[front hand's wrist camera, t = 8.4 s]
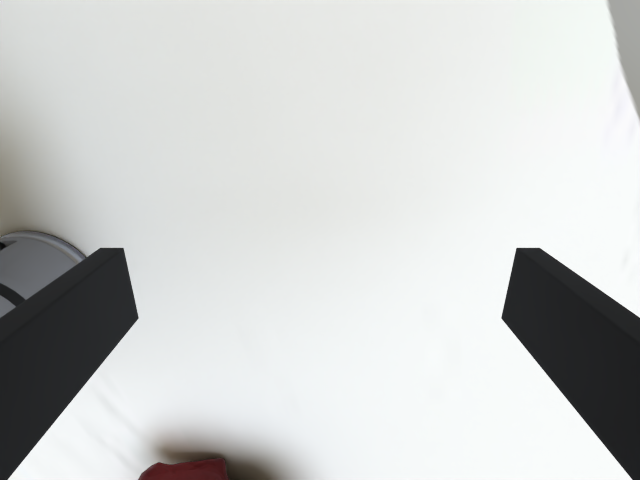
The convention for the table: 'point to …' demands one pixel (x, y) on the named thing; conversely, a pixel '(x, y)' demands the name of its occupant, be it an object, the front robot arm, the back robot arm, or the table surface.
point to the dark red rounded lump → (187, 471)
